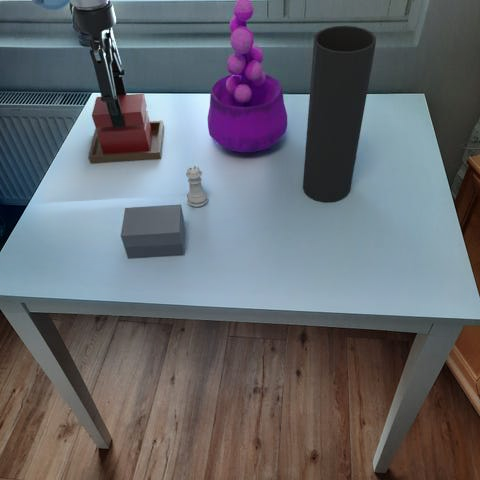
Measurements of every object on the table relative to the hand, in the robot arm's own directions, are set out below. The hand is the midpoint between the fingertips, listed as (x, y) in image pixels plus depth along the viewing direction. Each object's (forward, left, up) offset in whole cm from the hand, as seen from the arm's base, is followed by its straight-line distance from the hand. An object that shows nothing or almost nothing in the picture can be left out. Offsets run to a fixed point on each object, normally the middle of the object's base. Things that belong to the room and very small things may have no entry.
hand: (121, 115), depth 108 cm
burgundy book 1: (0, 0, 0) cm, 0 cm away
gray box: (+9, -34, -8) cm, 36 cm away
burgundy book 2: (0, 0, -4) cm, 4 cm away
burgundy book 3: (0, 0, -7) cm, 7 cm away
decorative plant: (+29, 0, -8) cm, 30 cm away
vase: (+45, -20, -8) cm, 50 cm away
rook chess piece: (+17, -22, -8) cm, 29 cm away
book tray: (0, 0, -8) cm, 8 cm away
